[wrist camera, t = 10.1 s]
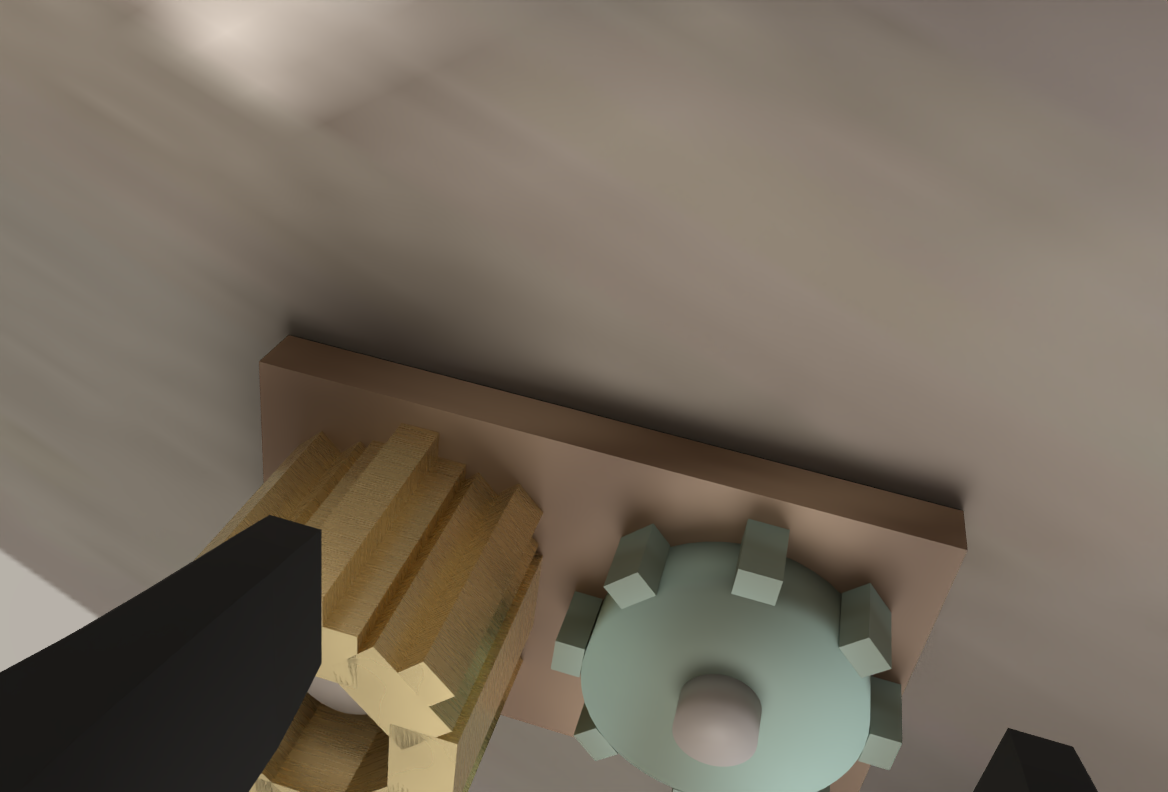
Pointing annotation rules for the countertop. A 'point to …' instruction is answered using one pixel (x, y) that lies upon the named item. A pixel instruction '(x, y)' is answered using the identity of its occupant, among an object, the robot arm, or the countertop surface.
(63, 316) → the countertop surface
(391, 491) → the brass gear
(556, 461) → the gear board
